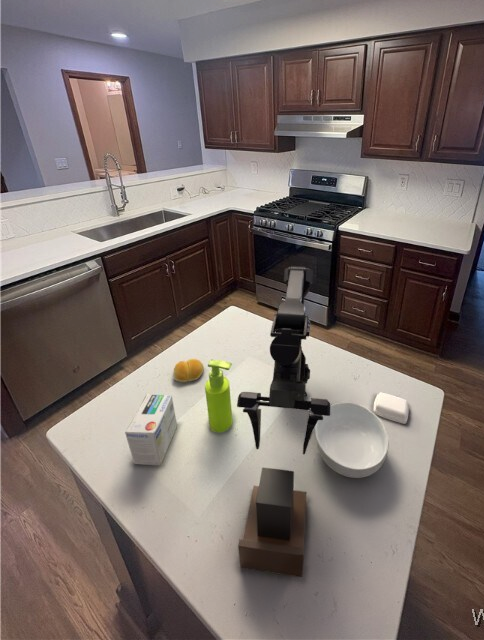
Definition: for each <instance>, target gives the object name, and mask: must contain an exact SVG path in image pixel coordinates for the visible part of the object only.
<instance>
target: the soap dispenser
mask: <svg viewBox="0 0 484 640" xmlns="http://www.w3.org/2000/svg"><path fill="white" fill-rule="evenodd" d="M232 366H233V363H231V362H229V361H225V360H220V359H210V361H209V362H208V364H207V368H211V370H210V371H209V372H208V380H207V381H206V382H205V384H204V391H205V399H206V407H207V416H208V423H209V428H210V430H211V431H212V432H215V433H224V432H226V431H228V430H229V429H230V428H231V427H232V424H233V413H232V411H233V410H232V398H231V388H230V380H229V379H228V378H227V377H225V376H224V371H223V370H226V371H229V370H231V367H232Z"/></svg>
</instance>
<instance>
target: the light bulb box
mask: <svg viewBox="0 0 484 640" xmlns="http://www.w3.org/2000/svg"><path fill="white" fill-rule="evenodd" d="M175 410H176V409H175V406H174V401H173V395H172V394H145V396H144V398H143V400H142V402H141V404H140V405H139V408H138V409H137V411H136V413H135V415H134V417H133V418H132V421H131V422H130V423H129V425H128V427H127V428H126V430H125V431H124V434H125V437H126V440H127V444H128V447H129V451H130V454H131V458H132V461H133V464H135V465H145V466H147V465H148V466H161V465H162V464H163V461H164V459H165V456H166V453H167V451H168V450H169V446H170V444H171V441H172V439H173V436H174V434H175V432H176V430H177V427H178V422H177V417H176V411H175Z"/></svg>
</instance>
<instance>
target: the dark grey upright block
mask: <svg viewBox="0 0 484 640" xmlns="http://www.w3.org/2000/svg"><path fill="white" fill-rule="evenodd" d="M258 486H259V488H258V494H257V499H256V514H257V534H258V536H260V537H268V538H275V539H282V540H289V541H290V537H291V525H292V513H293V493H294V490H295V471H294V470H287V469H281V468H269V467H261V472H260V477H259V484H258Z"/></svg>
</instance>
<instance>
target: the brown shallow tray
mask: <svg viewBox="0 0 484 640" xmlns="http://www.w3.org/2000/svg"><path fill="white" fill-rule="evenodd" d="M258 488H259V485H253V487H252V492H251V498H250V502H249V508H248V513H247V517H246V518H247V519H246V521H245V527H244V533H243V538H239V539H238V545H237V549H238V558H239V568H240V569H245V570H251V571H258V572H265V573H270V574H271V573H272V574H277V575H285V576H292V577H297V578H303V573H304V572H303V571H304V552H305V531H306V512H307V511H306V510H307V491H302V490H295V489H294V493H293V513H292V525H291V537H290V541H289V540H282V539H275V538H268V537H260V536H258V534H257V514H256V499H257V494H258Z"/></svg>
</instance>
